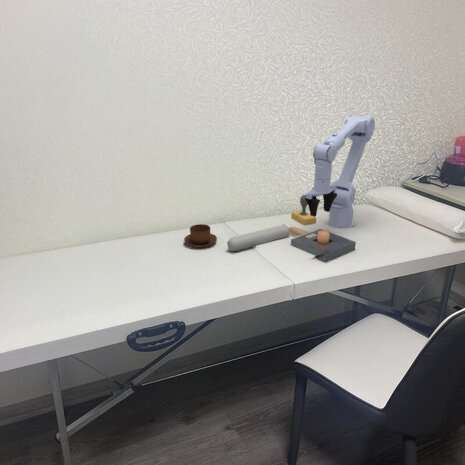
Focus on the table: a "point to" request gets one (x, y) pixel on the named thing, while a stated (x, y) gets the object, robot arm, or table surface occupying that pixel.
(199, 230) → the cup and saucer
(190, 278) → the table surface
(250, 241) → the tube
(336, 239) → the grey square slab
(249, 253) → the table surface
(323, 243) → the peg
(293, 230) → the tan square tile
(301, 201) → the rubber stamp
